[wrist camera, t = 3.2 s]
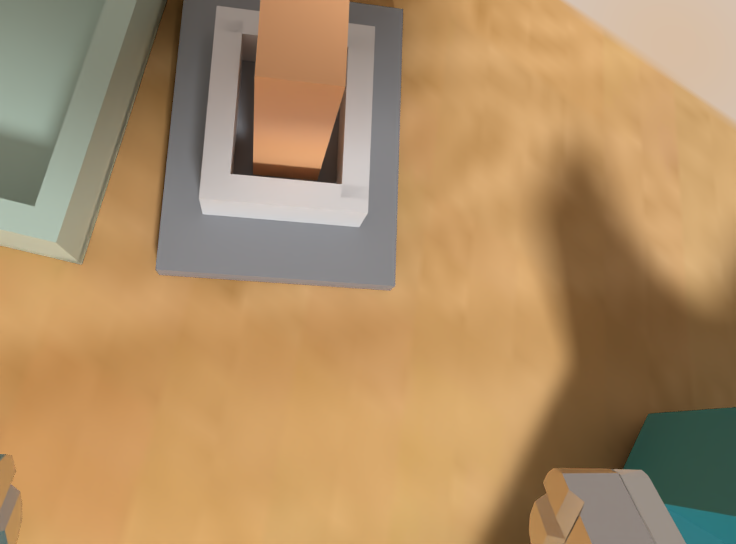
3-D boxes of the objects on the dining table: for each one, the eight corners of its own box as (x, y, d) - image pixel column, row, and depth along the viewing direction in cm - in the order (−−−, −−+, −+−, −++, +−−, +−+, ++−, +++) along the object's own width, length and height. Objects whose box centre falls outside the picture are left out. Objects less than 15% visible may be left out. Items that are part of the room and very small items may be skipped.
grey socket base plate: (159, 274, 26) (147, 258, 23) (188, -7, 28) (180, -54, 25) (389, 290, 27) (406, 276, 24) (397, 22, 29) (414, -20, 27)
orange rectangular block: (252, 174, 26) (254, 76, 18) (260, 79, 27) (264, -53, 19) (317, 180, 26) (345, 86, 19) (322, 86, 27) (351, -41, 19)
